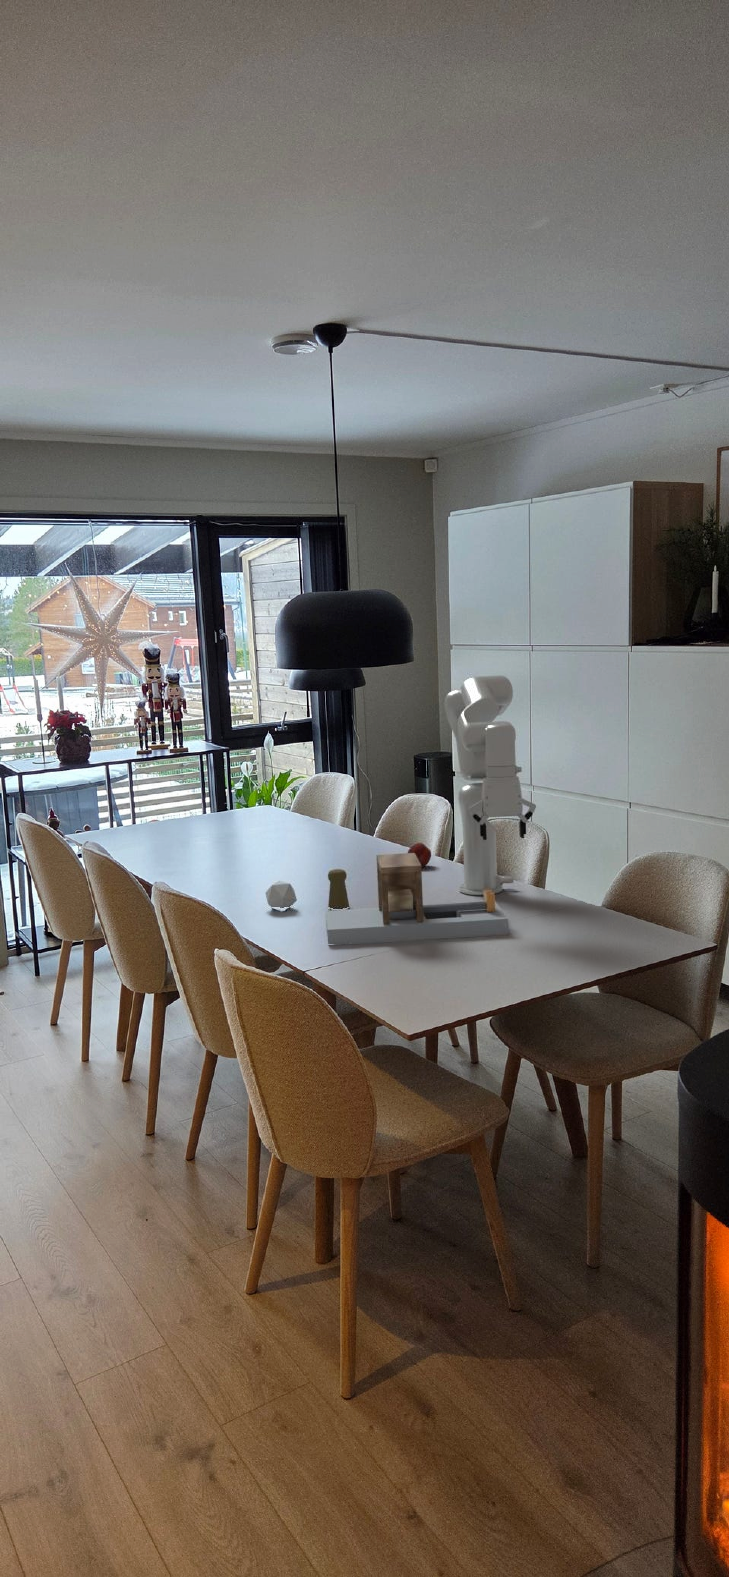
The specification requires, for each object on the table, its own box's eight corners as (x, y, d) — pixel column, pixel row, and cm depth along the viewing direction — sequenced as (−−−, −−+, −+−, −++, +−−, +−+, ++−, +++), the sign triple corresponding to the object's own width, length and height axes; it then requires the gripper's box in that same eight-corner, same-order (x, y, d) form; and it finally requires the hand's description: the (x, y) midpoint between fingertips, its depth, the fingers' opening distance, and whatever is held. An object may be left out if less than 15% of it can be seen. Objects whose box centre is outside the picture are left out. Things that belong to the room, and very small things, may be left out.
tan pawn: (325, 906, 293) (323, 868, 292) (345, 904, 295) (343, 866, 294) (332, 911, 288) (330, 873, 286) (352, 909, 290) (350, 870, 288)
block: (410, 911, 269) (410, 889, 268) (413, 917, 263) (412, 894, 262) (387, 913, 269) (386, 890, 268) (389, 919, 263) (388, 896, 262)
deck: (494, 915, 277) (494, 900, 276) (508, 934, 259) (508, 918, 259) (326, 925, 274) (325, 910, 274) (328, 945, 257) (327, 929, 256)
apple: (430, 869, 333) (429, 845, 332) (406, 869, 334) (405, 845, 333) (432, 864, 340) (431, 840, 339) (408, 864, 342) (407, 840, 340)
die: (303, 911, 292) (299, 880, 296) (287, 903, 285) (283, 871, 289) (278, 920, 295) (274, 889, 299) (262, 912, 288) (258, 881, 292)
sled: (490, 904, 272) (489, 887, 271) (496, 913, 263) (496, 895, 262) (381, 910, 270) (380, 893, 269) (384, 920, 261) (383, 902, 261)
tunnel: (416, 906, 274) (414, 852, 271) (423, 922, 259) (421, 865, 257) (378, 909, 273) (376, 855, 271) (383, 924, 258) (381, 867, 256)
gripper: (532, 769, 269) (534, 834, 271) (465, 772, 269) (468, 837, 271) (537, 772, 262) (539, 839, 264) (468, 775, 262) (471, 842, 264)
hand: (503, 838), depth 268 cm, fingers open, 9 cm apart
